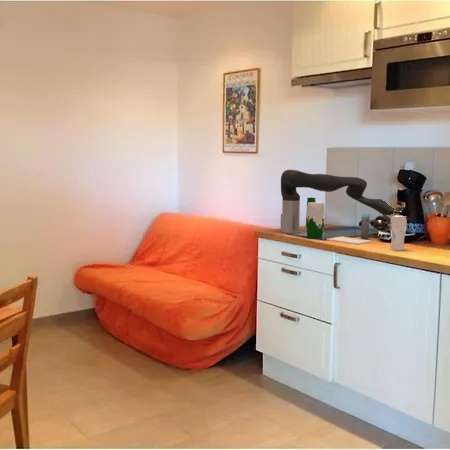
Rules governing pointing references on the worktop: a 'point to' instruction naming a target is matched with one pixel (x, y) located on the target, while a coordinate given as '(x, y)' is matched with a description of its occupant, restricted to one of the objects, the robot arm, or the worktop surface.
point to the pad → (349, 240)
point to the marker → (365, 226)
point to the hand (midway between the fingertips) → (366, 225)
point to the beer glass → (398, 231)
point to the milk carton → (314, 218)
